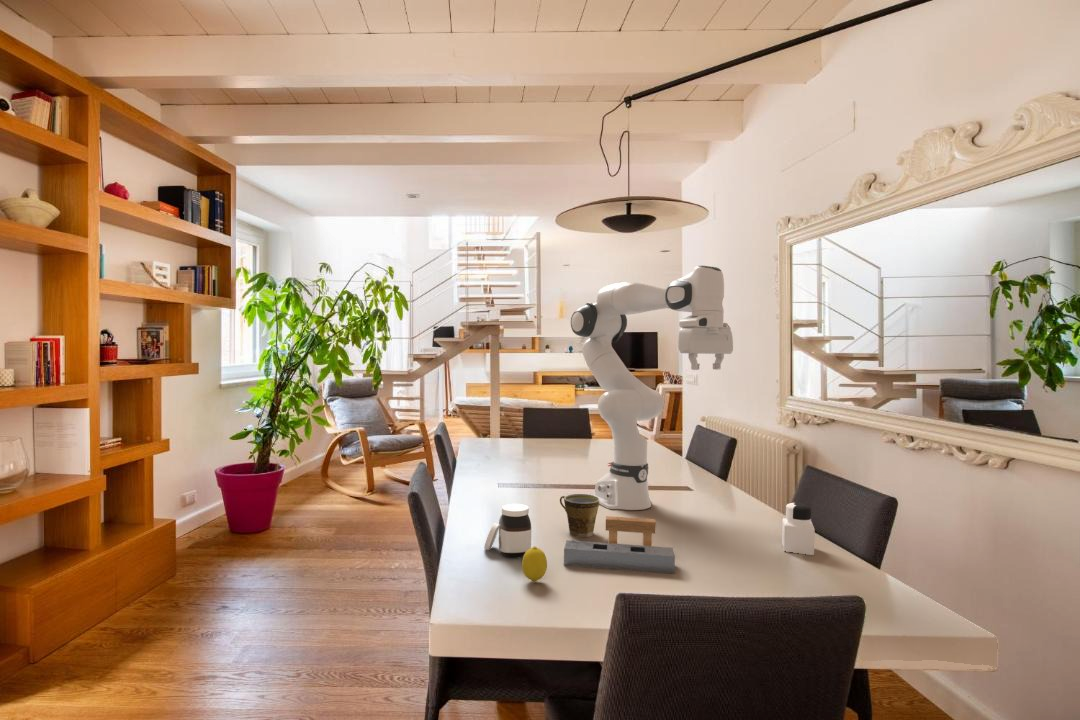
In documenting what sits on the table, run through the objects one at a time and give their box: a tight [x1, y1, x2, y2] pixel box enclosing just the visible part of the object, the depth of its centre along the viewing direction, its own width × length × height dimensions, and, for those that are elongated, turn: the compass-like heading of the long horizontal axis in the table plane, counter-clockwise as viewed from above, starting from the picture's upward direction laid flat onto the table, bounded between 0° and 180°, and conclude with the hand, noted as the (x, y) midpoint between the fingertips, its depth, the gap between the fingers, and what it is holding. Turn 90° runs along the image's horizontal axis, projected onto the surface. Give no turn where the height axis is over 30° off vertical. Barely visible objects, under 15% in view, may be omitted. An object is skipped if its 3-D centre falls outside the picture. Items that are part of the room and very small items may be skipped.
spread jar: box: [483, 503, 532, 559], centre depth 144 cm, size 12×11×12 cm
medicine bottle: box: [781, 502, 816, 556], centre depth 149 cm, size 7×7×12 cm
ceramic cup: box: [559, 493, 600, 538], centre depth 160 cm, size 13×10×10 cm
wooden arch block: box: [605, 515, 657, 546], centre depth 150 cm, size 13×3×7 cm, turn 81°
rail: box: [563, 540, 676, 574], centre depth 137 cm, size 26×6×4 cm, turn 81°
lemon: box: [521, 546, 548, 583], centre depth 125 cm, size 6×6×8 cm
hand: (706, 369), depth 163 cm, fingers open, 8 cm apart
